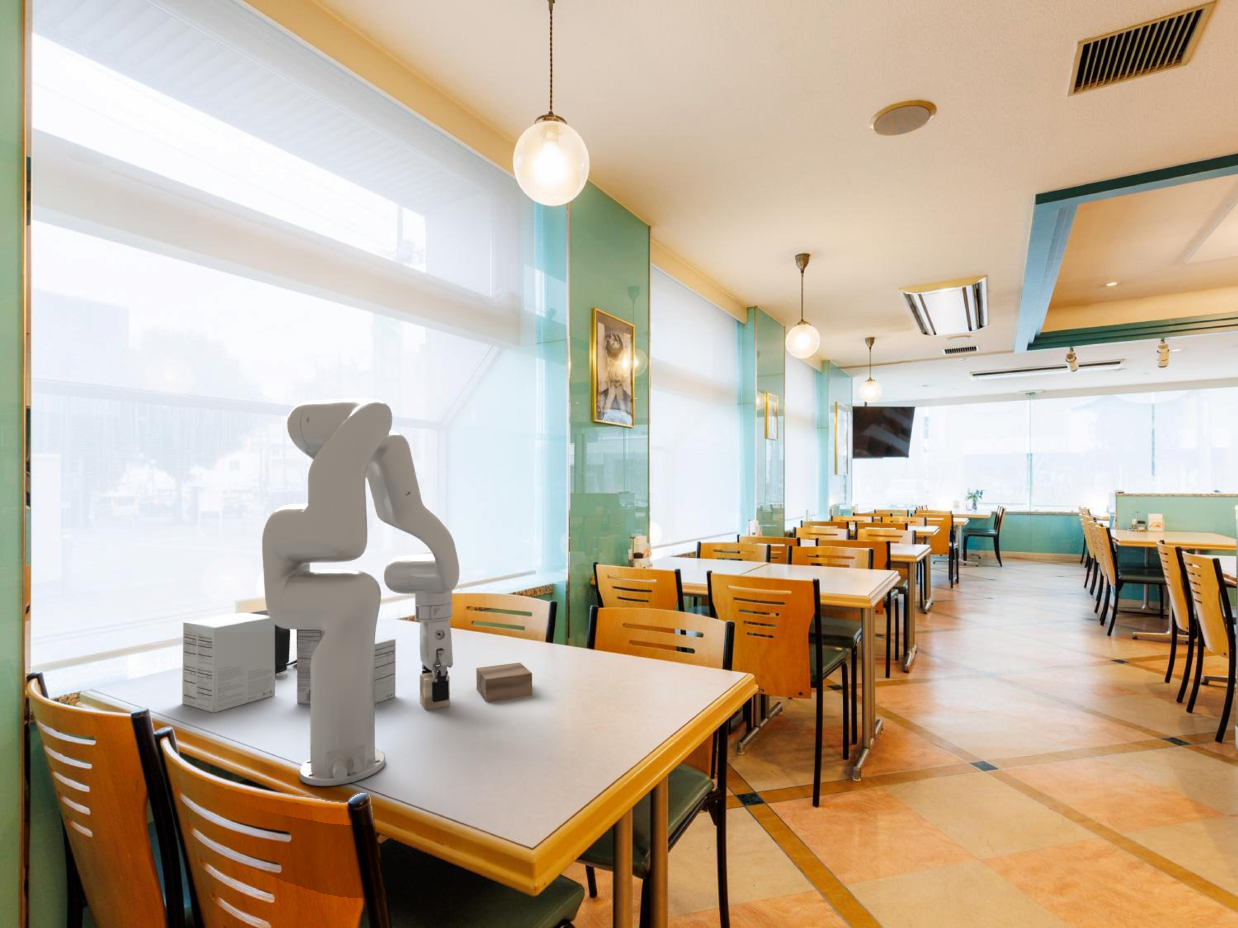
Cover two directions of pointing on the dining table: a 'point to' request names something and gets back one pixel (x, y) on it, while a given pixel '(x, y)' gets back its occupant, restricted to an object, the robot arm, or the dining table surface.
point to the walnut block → (504, 682)
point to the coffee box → (305, 661)
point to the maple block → (430, 692)
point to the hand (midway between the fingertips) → (435, 694)
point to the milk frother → (280, 645)
